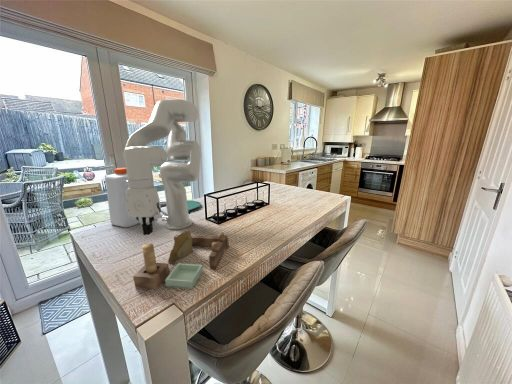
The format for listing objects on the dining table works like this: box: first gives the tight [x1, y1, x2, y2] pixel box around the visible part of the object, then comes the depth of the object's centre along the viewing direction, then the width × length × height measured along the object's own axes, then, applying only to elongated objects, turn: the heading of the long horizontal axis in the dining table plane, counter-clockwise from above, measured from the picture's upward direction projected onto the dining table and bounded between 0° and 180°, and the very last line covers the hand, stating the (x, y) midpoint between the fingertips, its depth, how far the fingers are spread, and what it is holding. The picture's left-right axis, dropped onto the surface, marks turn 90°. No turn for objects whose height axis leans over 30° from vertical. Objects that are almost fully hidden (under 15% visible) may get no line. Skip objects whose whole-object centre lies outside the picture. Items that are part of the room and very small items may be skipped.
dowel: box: [141, 243, 157, 274], centre depth 64 cm, size 3×3×12 cm
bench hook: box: [173, 232, 230, 271], centre depth 78 cm, size 22×16×7 cm
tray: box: [164, 262, 204, 290], centre depth 65 cm, size 8×8×2 cm
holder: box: [133, 262, 171, 291], centre depth 65 cm, size 7×7×4 cm
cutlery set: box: [154, 199, 202, 221], centre depth 127 cm, size 20×30×2 cm, turn 133°
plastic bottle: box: [104, 167, 140, 228], centre depth 108 cm, size 15×15×28 cm
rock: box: [167, 230, 194, 265], centre depth 77 cm, size 11×9×10 cm
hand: (148, 233), depth 76 cm, fingers closed
